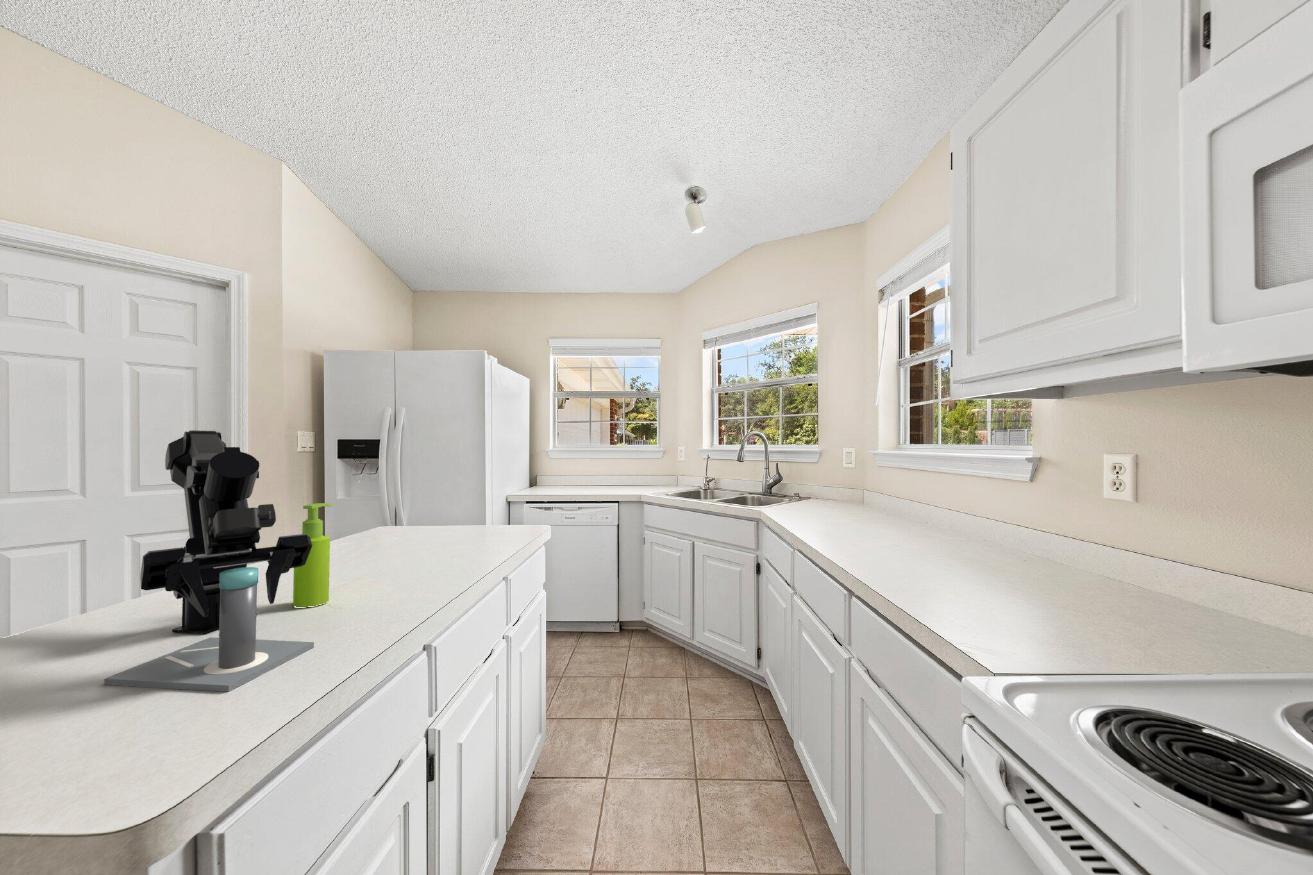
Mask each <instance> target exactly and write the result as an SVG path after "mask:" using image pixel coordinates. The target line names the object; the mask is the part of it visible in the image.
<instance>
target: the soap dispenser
mask: <svg viewBox="0 0 1313 875" xmlns="http://www.w3.org/2000/svg"><path fill="white" fill-rule="evenodd" d="M332 505H333V504H332V503H327V502H323V503H322V502H321V503H320V502H315V503H309V504H306V505H303V507H302V508H303V509H306V510H307V519H305V520H303V521H302V525H301V526H302V529H301V534H306V535H308V536H309V537H310V538H311V542H312V548H311V550H310V553H309V556H308V558H307V561H306V563H305V565H303V566H301V567H296V568H293V586H292V588H293V590H292V591H293V592H292V607H293V606H296V607H308V606H316V605H319V604H323V603H326V602H327V601H330V559H331V558H330V557H331V556H330V554H331V552H330V549H331V537H330V536H327V535H324V520H323V519H320V518H319V508H322V507H332ZM326 604H327V603H326Z"/></svg>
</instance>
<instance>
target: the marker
mask: <svg viewBox="0 0 1313 875" xmlns="http://www.w3.org/2000/svg"><path fill="white" fill-rule="evenodd" d="M258 584H259V567H254V566H251V567H250V566H247V567H244V568H235V569H230V570H226V571H223V572H221V573H220V583H219V588H220V620H219V629H218V638H219V659H218V667H219V668H222V669H230V668H236V667H240V666H244V665H247V664H249V663H251V662H253V661H254V660H255V651H256V640H257V637H256V636H257V612H258V611H257V609H258V608H257V607H258V605H257V603H258V601H257V599H258Z"/></svg>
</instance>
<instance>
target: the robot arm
mask: <svg viewBox="0 0 1313 875" xmlns="http://www.w3.org/2000/svg"><path fill="white" fill-rule="evenodd" d="M164 460H165V461H164V463H165V464H164V465H165V467H164V468H165V471H169V473H170V474H169V475H170V478H171V482H173V483H174V484H176V485H178V486H179V487H181V488H182V489H183V492H184V493H183V494H184V500H185V509H186V518H187V527H188V534H189V538H188V539H187V541H185V544H184V545H185V546H184V547H183V546H181V547H174V548H173V547H172V548H166V549H156V550H155V549H154V550H148V551H146V553H145V554H143V555H142V559H141V560H142V561H141V566H140V575H139V576H140V579H139V580H140V590H143V591H152V590H159V589H163V588H164V589H165V591H166V592H173V596H174V597H175V598H176V600H180V599H182V604H181V605H182V606H181V610H182V611H181V625H180V626H177V627H174V628H173V629H171V632H172V633H179V634H180V633H183V634H184V633H185V634H186V633H187V634H204V635H205V634H209V633H210V632H213V631H217V630H219V620H220V588H219V583H220V573H221V572H223V571H226V570H230V569H235V568H244V567H248V564H256V563H263V562H264V563H265V562H267V564H268V565H267V569H266V571H265V582H266V584H265V585H266V594H267V600H268V603H269V604H270V605H273V604H275V603H274V602H275V600H276V595H277V590H278V588H279V583H280V579H281V576H282V574H286V573H288V572H289V571H290V570H291V569H294V568H296V567H301V566H303V565H305V563H306V561H307V558H308V556H309V553H310V550H311V548H312V542H311V538H310V537H309V536H308V535H306V534H302V533H300V534H292V535H291V534H290V535H283V536H281V535H280V536H278V538H277V541H276V545H275V546H268V547H260V548H257V545H256V544H259V543H260V540H261V535H260V534H261V533H260V531H261V530H262V528H263V529H264V528H272V527H274V524H276V521H277V515H276V509H275V505H274V504H273V503H270V504H269V503H267V504H259V505H257V507H249V503H248V499H249V498H250V497H252V494H253V491H254V488H255V484H256V481H257V479H259V478H260V470H259V469H260V462H259V460H258V459H257V458H255V456H253V455H252V454H249V453H247V452H244V451H241V447H240V446H227V444H226V443H225V442H224V441H223V440H222V433H221V432H220V431H216V430H199V429H198V430H196V429H194V430H191V429H190V430H189V431H184V434H183V436H182V437H180V438H178V439H175V440H173V441H171V442H170V443H168V444H167V449H166V452H165V458H164Z"/></svg>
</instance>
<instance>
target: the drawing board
mask: <svg viewBox="0 0 1313 875" xmlns="http://www.w3.org/2000/svg"><path fill="white" fill-rule="evenodd" d="M313 648H315V642H314V641H299V640H298V641H296V640H276V639H275V640H274V639H273V640H272V639H256V651H255V660H254V661H253V662H251V663H249V664H247V665H244V666H240V667H236V668H230V669H222V668H219V667H218V659H219V637H211V636H210V637H207V638H205V639H202V640H199V641H197V642H195V643H192V644H189V645H186V646H184V647H182V648H179V649H177V650H174V651H170V652H169V653H166V654H164V655H161V656H158V657H157V658H154V659H151V660H148V661H146V662H143V663H140V664H138V665H136V666H133V667H131V668H128V669H125V670H123V671H120V672H118V673H115V674H113V675H110V676H107V677H105V678H103V685H104V686H120V687H136V688H137V687H139V688H140V687H141V688H154V689H155V688H156V689H157V688H158V689H169V690H170V689H173V690H175V689H176V690H188V691H189V690H191V691H209V692H226V693H228V692H231V691H233V690H235V689H237V688H239V687H240V686H243V685H245V684H246V683H249V682H250V681H252V680H254V679H256V678H258V677H259V676H262V675H263V674H266V673H267V672H270V671H271V670H273V669H275V668H277V667H279V666H281V665H283V664H285V663H287V662H288V661H291V660H293V659H294V658H297V657H298V656H300V655H302V654H304V653H306V652H308V651H309V650H312V649H313Z"/></svg>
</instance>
